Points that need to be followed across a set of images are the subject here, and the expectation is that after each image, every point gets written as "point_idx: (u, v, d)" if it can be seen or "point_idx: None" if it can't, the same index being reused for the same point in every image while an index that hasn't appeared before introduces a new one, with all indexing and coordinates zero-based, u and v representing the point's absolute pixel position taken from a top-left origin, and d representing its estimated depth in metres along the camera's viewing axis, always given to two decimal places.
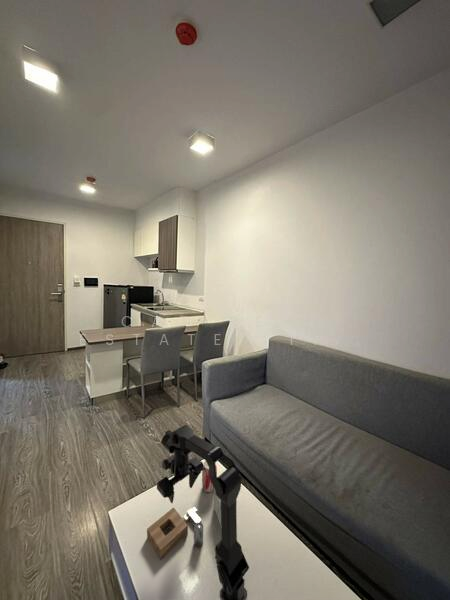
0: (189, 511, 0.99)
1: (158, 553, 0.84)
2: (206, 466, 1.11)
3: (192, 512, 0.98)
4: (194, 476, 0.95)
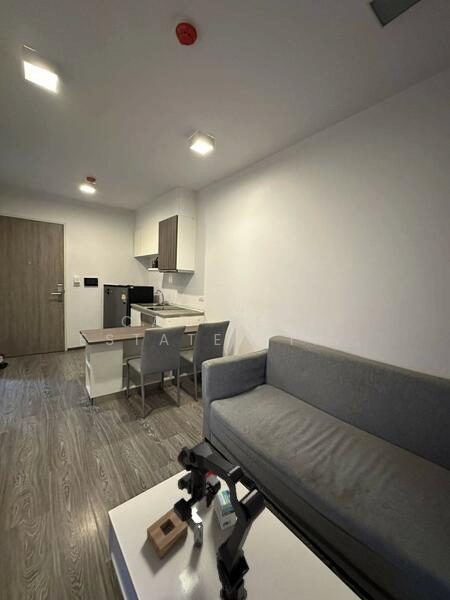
0: None
1: (158, 553, 0.84)
2: None
3: (192, 513, 0.98)
4: (212, 496, 0.89)
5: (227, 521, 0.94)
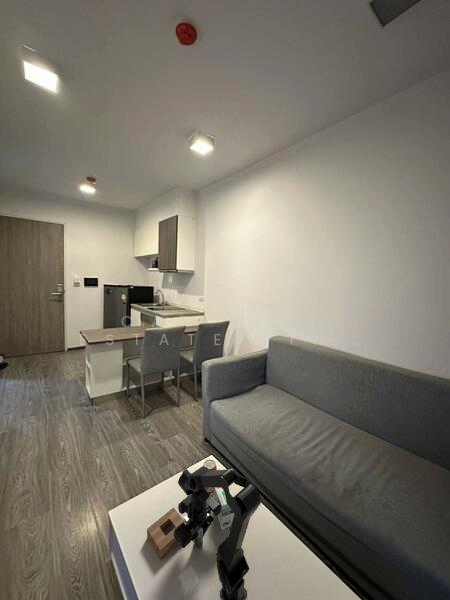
0: None
1: (158, 553, 0.84)
2: (206, 466, 1.11)
3: None
4: (206, 525, 0.88)
5: (227, 521, 0.94)
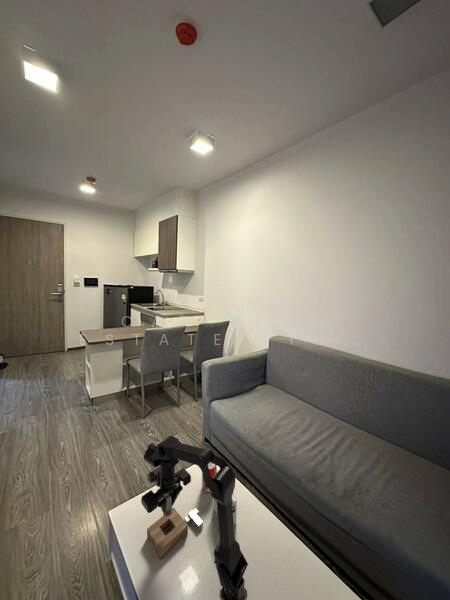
0: (190, 513, 0.98)
1: (158, 553, 0.84)
2: None
3: (193, 514, 0.98)
4: (175, 493, 0.90)
5: None
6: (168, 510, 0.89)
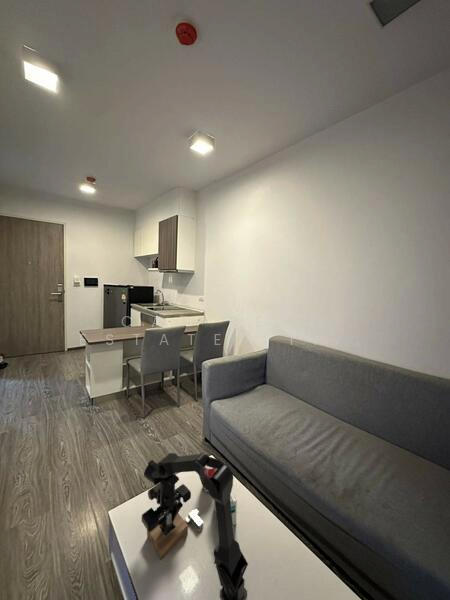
0: (191, 513, 0.98)
1: (158, 553, 0.84)
2: (206, 466, 1.11)
3: (194, 514, 0.98)
4: (175, 510, 0.90)
5: None
6: (168, 527, 0.89)
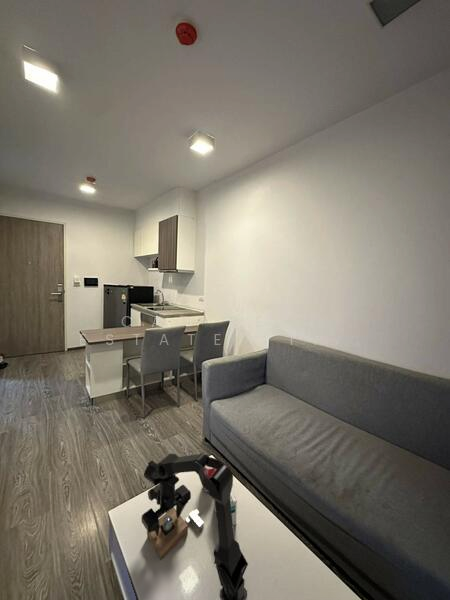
0: (191, 513, 0.98)
1: (158, 553, 0.84)
2: (206, 466, 1.11)
3: (194, 514, 0.97)
4: (181, 506, 0.92)
5: None
6: None
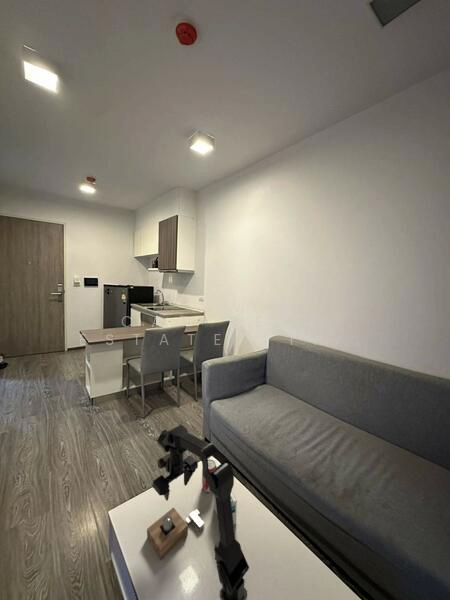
0: (191, 514, 0.98)
1: (158, 553, 0.84)
2: None
3: (194, 515, 0.97)
4: (189, 474, 0.98)
5: None
6: None
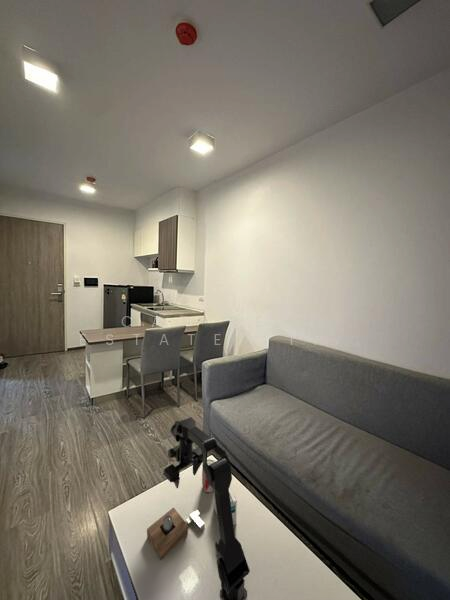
0: (192, 514, 0.97)
1: (158, 553, 0.84)
2: None
3: (195, 515, 0.97)
4: (197, 464, 1.03)
5: None
6: None
